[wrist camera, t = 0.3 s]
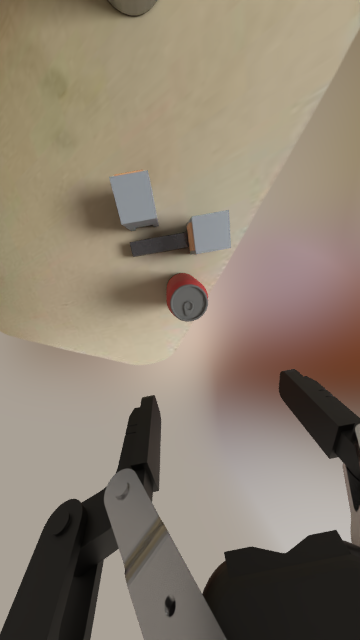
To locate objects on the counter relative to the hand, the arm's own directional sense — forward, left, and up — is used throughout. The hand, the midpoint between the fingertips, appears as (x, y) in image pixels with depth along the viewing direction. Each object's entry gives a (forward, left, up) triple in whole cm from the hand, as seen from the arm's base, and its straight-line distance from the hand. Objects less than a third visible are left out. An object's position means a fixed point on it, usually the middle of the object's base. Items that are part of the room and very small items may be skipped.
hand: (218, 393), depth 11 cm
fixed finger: (-11, +6, -27) cm, 30 cm away
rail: (-11, 0, -27) cm, 29 cm away
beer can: (-2, 0, -27) cm, 27 cm away
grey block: (-17, -5, -27) cm, 32 cm away
